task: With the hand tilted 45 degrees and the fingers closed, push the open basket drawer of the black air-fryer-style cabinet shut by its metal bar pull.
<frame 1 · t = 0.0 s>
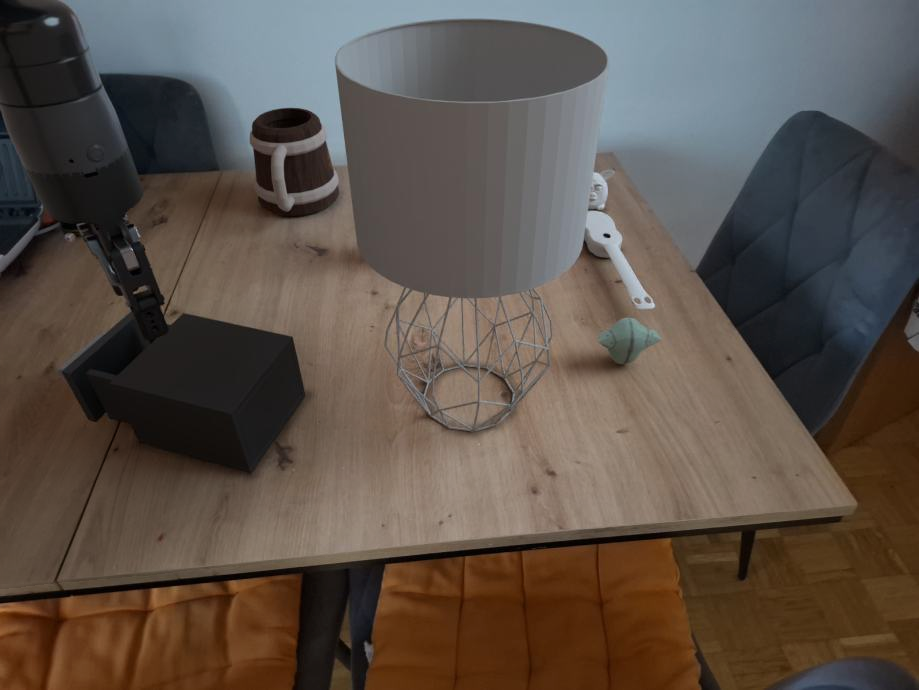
hand: (141, 313, 60), 19 cm above the table, tool pointing down, fingers open, 8 cm apart
cabinet: (225, 418, 76), on the table
mug: (297, 206, 116), on the table
figurine: (586, 204, 116), on the table
green spinning top: (621, 362, 83), on the table
drawer: (142, 372, 75), point 5 cm above the table, slide at 6.0 cm
table lamp: (467, 397, 79), on the table
white toy ukulele: (612, 269, 100), on the table
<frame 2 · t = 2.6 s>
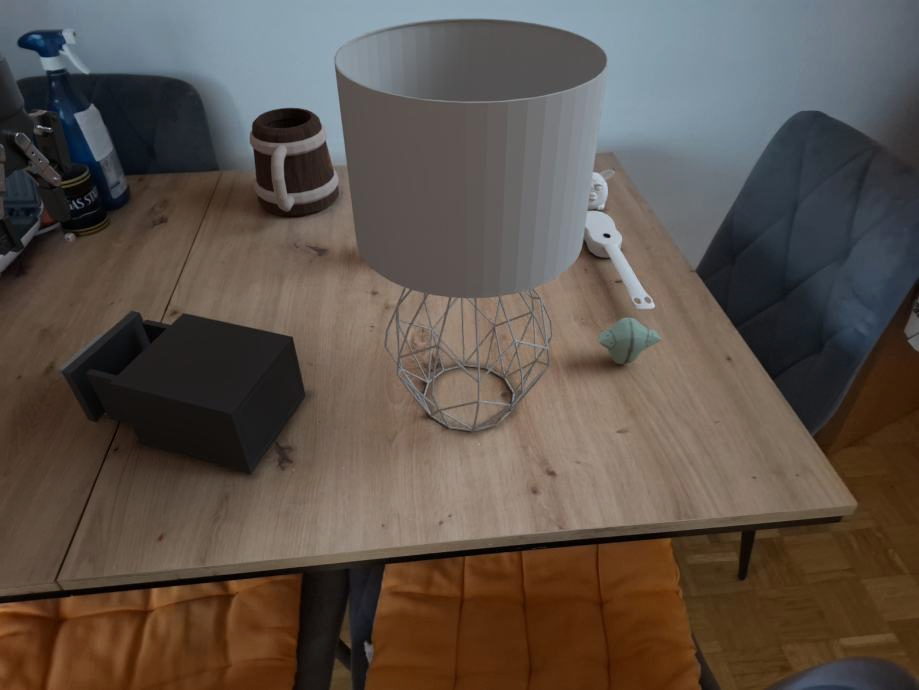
hand: (38, 233, 64), 22 cm above the table, tool pointing down, fingers open, 5 cm apart
nothing on the table moved.
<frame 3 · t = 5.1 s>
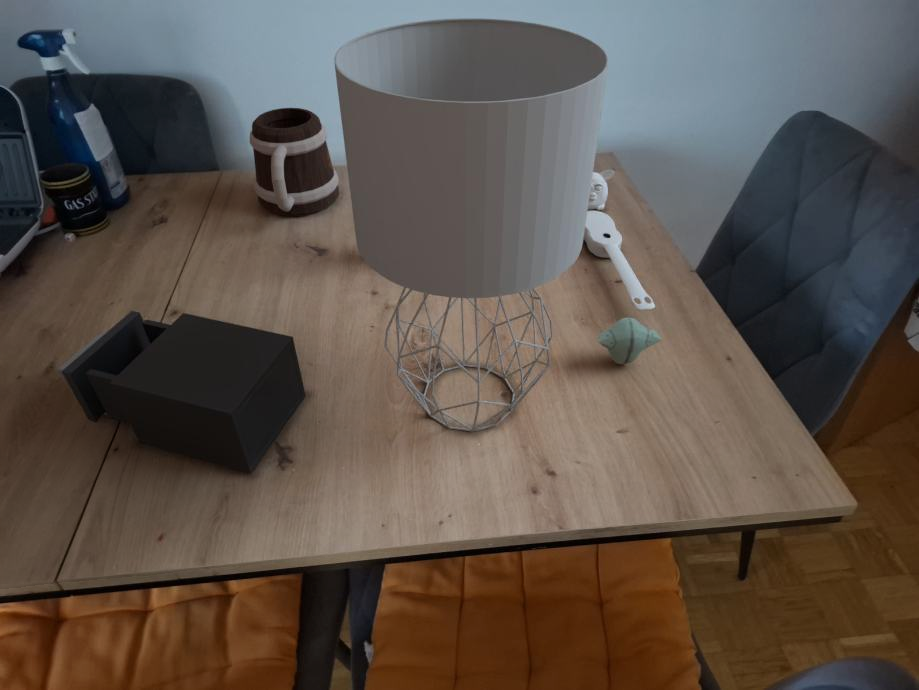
nothing on the table moved.
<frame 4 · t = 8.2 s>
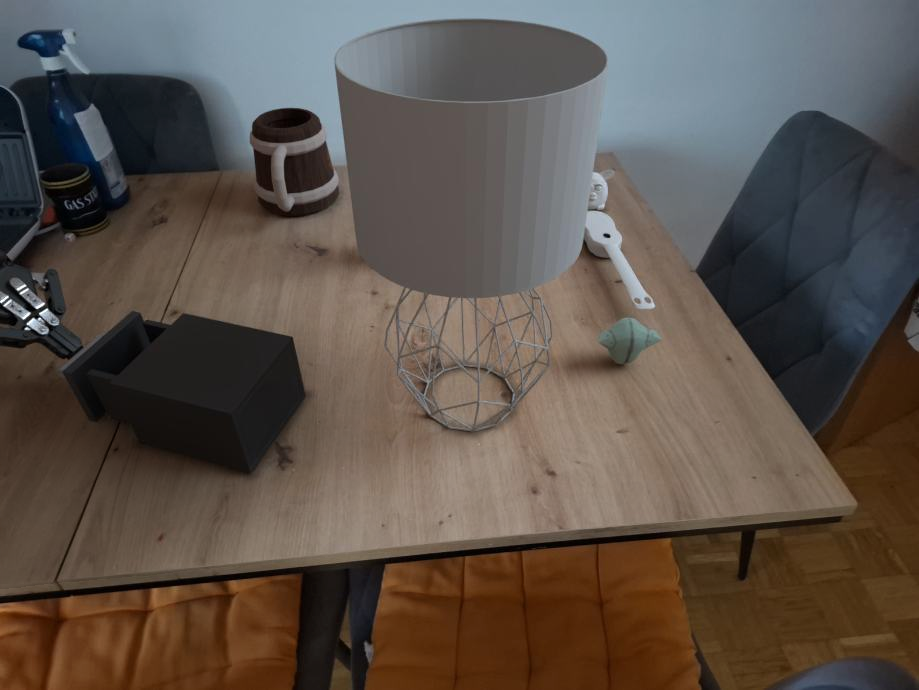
hand: (77, 354, 77), 5 cm above the table, tool tilted 45°, fingers closed
drawer: (143, 372, 75), point 5 cm above the table, slide at 5.9 cm, touching gripper
everything else where it was.
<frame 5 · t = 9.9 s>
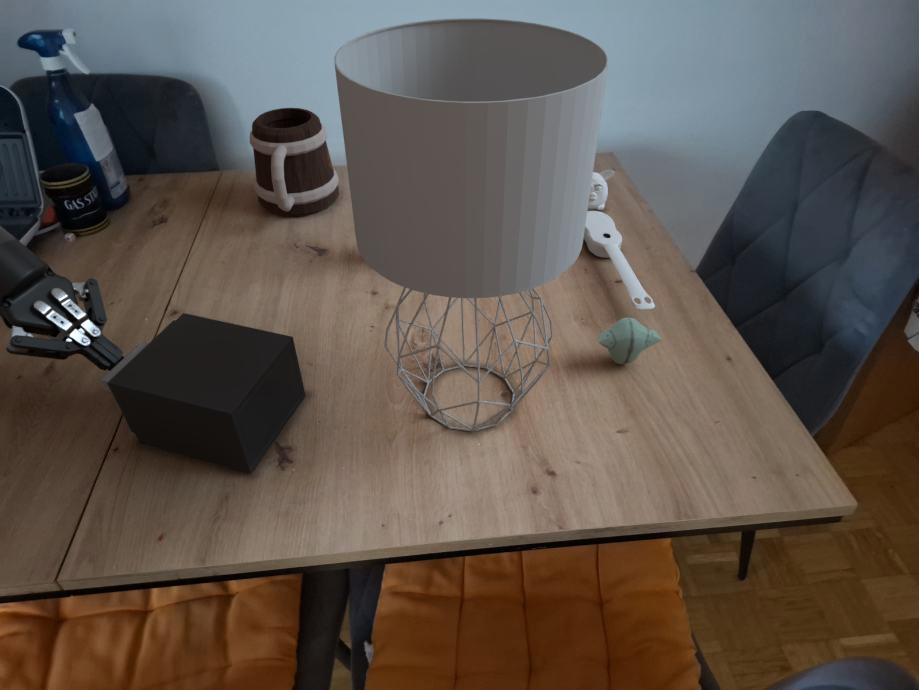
hand: (118, 365, 75), 5 cm above the table, tool tilted 45°, fingers closed
drawer: (186, 382, 73), point 5 cm above the table, slide at 0.0 cm, touching gripper
everything else where it was.
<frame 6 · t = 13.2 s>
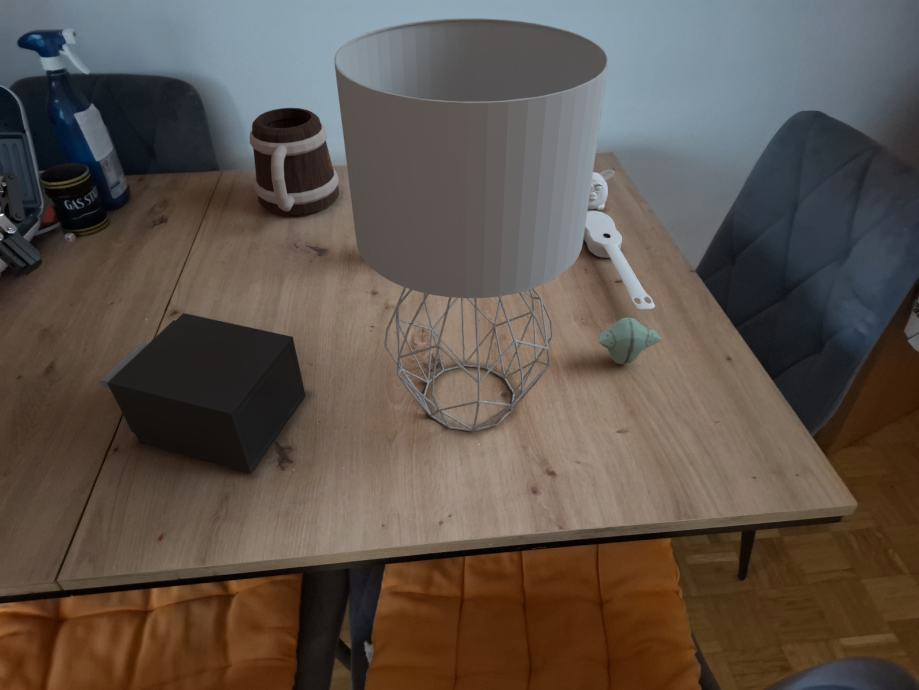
hand: (34, 268, 68), 18 cm above the table, tool tilted 40°, fingers closed
drawer: (186, 382, 73), point 5 cm above the table, slide at 0.0 cm
everything else where it was.
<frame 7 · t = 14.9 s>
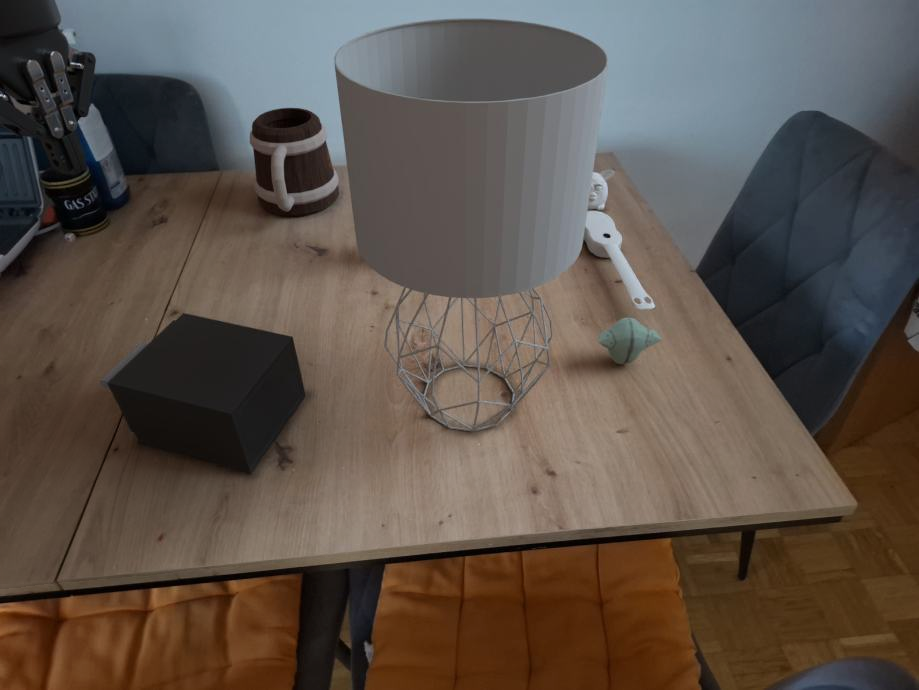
hand: (73, 171, 61), 29 cm above the table, tool pointing down, fingers closed
nothing on the table moved.
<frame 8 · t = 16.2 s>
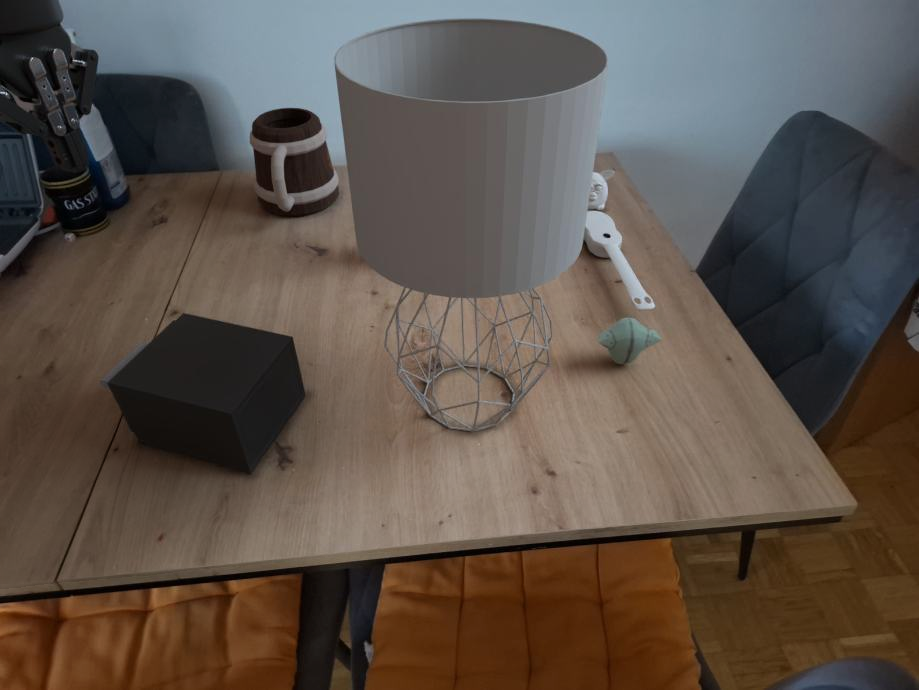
hand: (75, 169, 61), 29 cm above the table, tool pointing down, fingers closed
nothing on the table moved.
at the end: drawer slide at 0.0 cm; mug moved 0.2 cm from its start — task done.
